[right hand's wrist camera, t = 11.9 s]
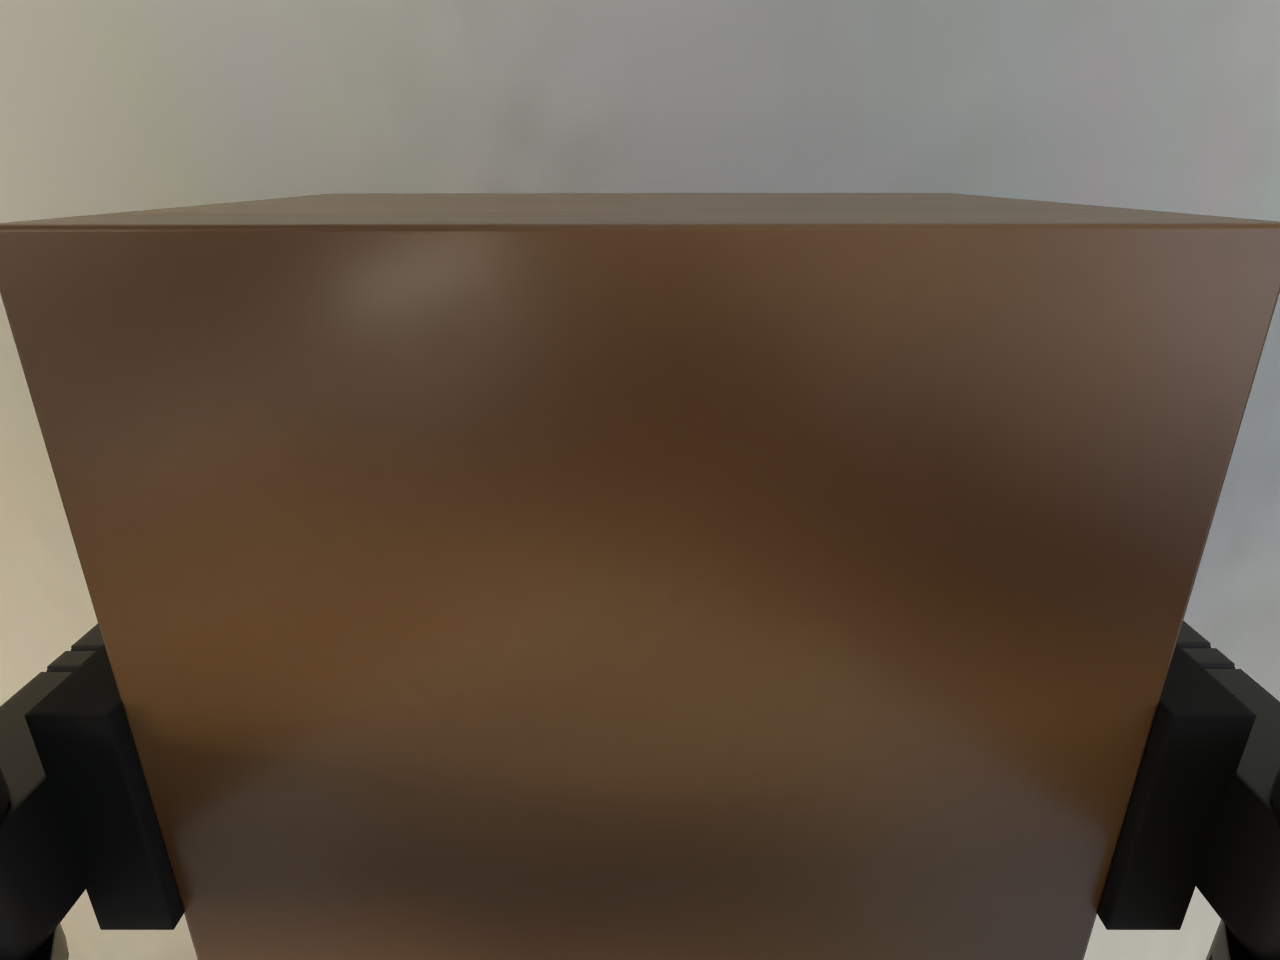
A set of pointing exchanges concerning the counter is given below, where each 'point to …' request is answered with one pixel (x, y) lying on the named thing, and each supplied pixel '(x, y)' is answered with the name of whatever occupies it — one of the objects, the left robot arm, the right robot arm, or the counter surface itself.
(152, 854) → the right robot arm
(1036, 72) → the counter surface
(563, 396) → the thick board
